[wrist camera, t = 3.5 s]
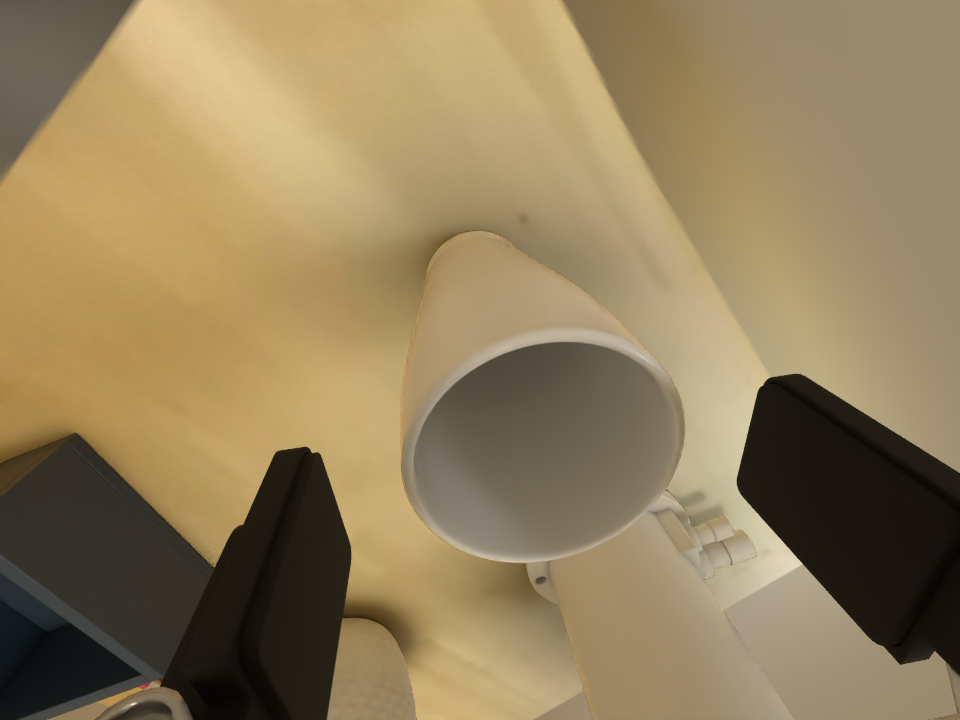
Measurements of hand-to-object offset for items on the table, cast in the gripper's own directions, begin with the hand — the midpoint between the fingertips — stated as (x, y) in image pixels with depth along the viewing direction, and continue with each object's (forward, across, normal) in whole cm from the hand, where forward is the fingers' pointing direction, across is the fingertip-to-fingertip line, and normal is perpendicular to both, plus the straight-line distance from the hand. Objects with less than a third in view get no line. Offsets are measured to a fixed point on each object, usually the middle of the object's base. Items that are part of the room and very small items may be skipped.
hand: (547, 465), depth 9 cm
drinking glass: (+16, 0, +1) cm, 16 cm away
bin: (+15, +27, +14) cm, 34 cm away
